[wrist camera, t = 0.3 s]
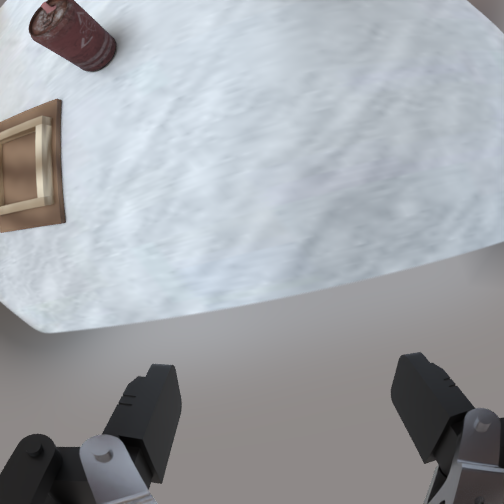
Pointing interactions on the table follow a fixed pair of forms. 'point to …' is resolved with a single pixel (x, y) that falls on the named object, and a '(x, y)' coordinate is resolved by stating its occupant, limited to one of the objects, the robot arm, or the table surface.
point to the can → (72, 34)
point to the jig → (31, 169)
